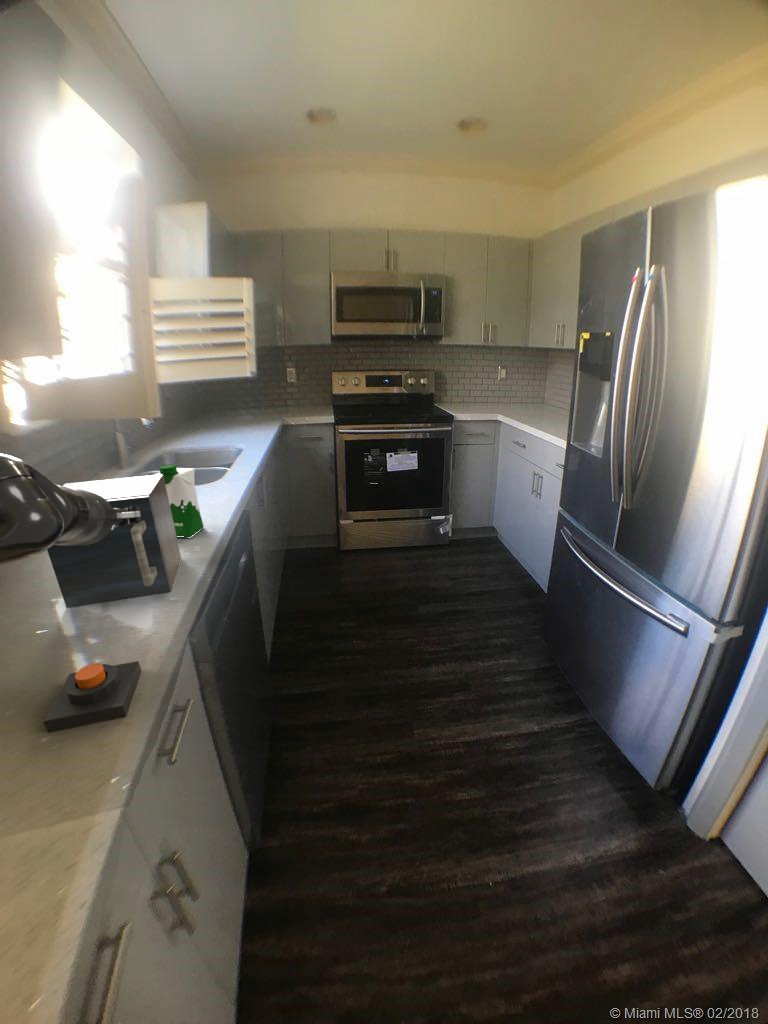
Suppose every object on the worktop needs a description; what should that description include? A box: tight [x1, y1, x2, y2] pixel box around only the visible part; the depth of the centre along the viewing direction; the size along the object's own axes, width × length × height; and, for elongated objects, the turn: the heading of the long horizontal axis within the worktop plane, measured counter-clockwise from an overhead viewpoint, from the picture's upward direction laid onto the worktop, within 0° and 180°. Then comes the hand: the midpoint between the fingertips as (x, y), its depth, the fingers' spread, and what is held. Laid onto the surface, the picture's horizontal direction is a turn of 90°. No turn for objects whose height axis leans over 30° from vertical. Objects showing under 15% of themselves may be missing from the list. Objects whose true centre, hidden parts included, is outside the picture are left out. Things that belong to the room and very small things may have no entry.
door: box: [46, 495, 172, 608], centre depth 90 cm, size 6×20×22 cm, turn 105°
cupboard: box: [62, 474, 182, 590], centre depth 100 cm, size 15×20×22 cm
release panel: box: [43, 660, 142, 734], centre depth 69 cm, size 10×10×4 cm
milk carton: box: [154, 463, 205, 537], centre depth 125 cm, size 9×9×20 cm
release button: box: [75, 663, 106, 689], centre depth 68 cm, size 4×4×2 cm
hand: (113, 522), depth 76 cm, fingers closed
